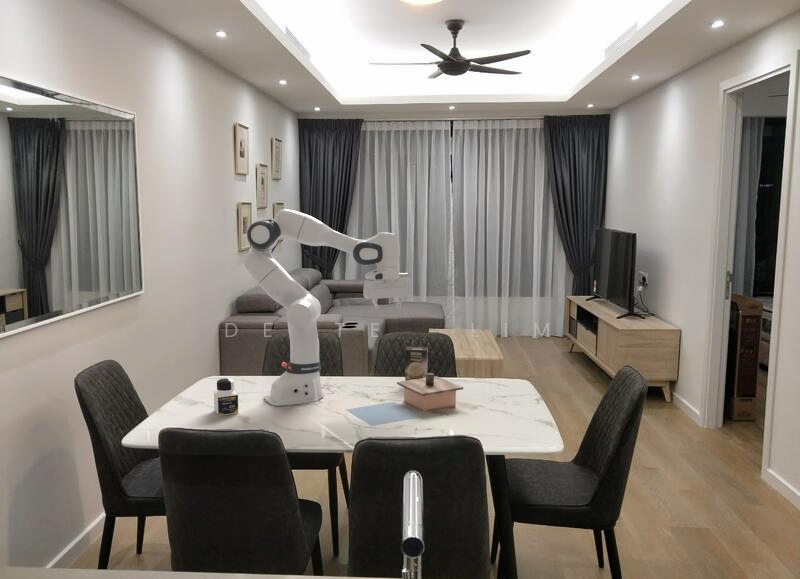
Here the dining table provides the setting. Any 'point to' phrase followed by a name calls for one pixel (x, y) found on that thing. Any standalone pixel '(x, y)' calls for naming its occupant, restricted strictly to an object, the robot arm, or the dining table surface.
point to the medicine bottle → (225, 397)
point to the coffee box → (416, 363)
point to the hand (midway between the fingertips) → (387, 309)
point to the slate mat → (383, 413)
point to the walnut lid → (429, 385)
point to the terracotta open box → (430, 400)
